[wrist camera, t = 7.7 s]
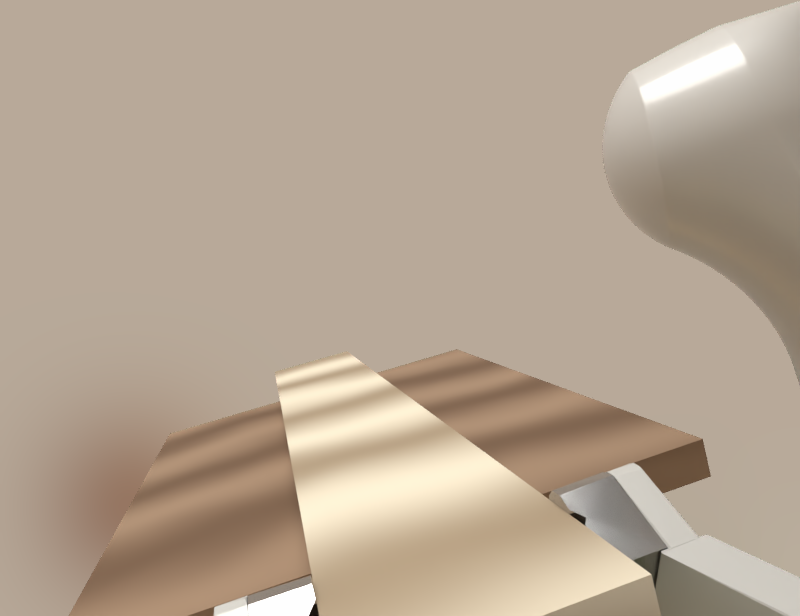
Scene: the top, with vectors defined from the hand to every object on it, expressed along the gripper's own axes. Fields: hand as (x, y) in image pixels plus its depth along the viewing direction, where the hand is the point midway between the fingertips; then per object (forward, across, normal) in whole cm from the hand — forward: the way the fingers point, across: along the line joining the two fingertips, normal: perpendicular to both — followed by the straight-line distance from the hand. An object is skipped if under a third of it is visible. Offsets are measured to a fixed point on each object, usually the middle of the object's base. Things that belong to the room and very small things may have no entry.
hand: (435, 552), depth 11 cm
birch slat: (+9, 0, +7) cm, 12 cm away
